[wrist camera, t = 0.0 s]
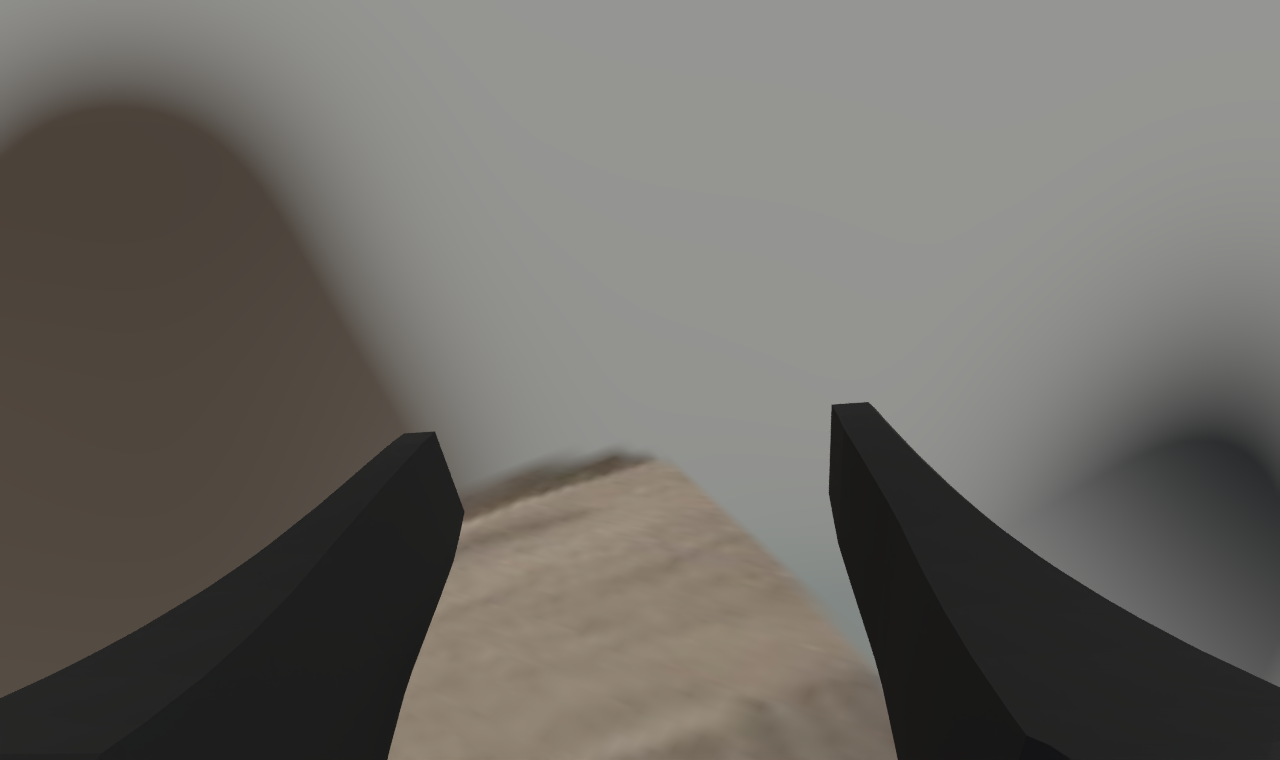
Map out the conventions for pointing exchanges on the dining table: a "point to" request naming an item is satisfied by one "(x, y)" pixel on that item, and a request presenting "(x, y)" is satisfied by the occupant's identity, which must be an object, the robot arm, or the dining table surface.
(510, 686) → the dining table surface
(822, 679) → the dining table surface
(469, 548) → the dining table surface
